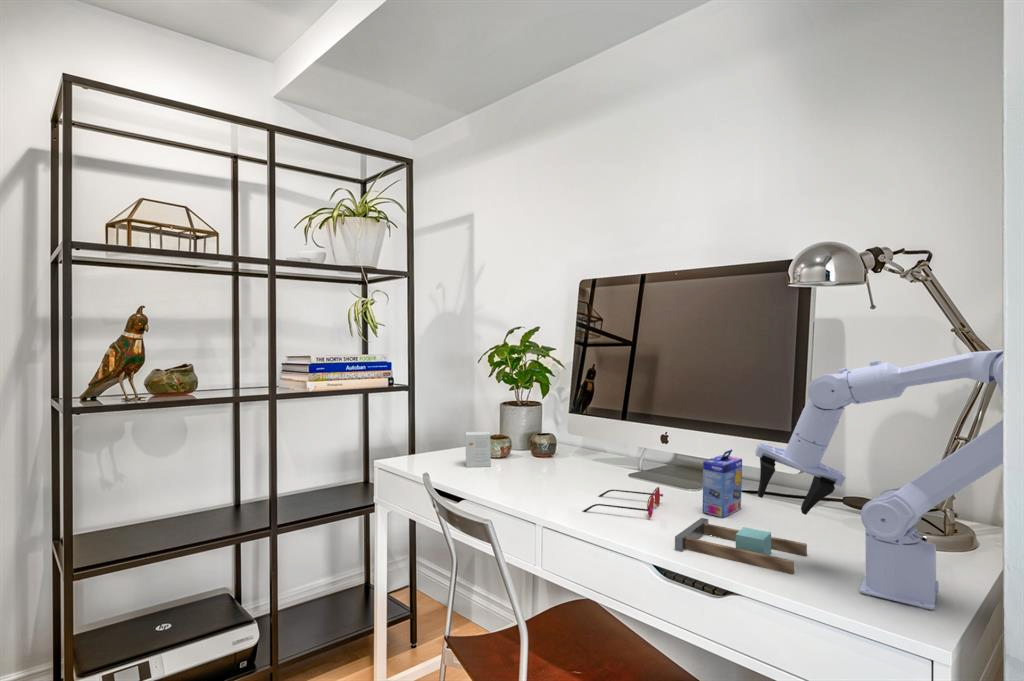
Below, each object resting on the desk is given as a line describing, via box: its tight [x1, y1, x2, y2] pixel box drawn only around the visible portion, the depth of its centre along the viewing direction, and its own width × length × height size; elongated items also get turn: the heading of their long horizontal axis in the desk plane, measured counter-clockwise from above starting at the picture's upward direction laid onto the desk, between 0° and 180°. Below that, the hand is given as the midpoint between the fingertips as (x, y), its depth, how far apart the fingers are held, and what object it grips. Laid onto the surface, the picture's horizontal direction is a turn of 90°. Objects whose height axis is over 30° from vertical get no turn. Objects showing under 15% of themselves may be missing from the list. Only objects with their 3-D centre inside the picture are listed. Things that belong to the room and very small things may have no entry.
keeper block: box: [735, 526, 772, 556], centre depth 106 cm, size 5×5×4 cm
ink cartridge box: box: [702, 449, 743, 519], centre depth 131 cm, size 10×6×14 cm, turn 135°
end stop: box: [674, 517, 709, 552], centre depth 113 cm, size 2×14×2 cm, turn 141°
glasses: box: [581, 486, 664, 518], centre depth 135 cm, size 14×16×5 cm
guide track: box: [685, 523, 808, 575], centre depth 107 cm, size 19×11×2 cm, turn 51°
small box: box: [464, 430, 492, 468], centre depth 181 cm, size 8×6×10 cm
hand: (781, 503), depth 102 cm, fingers open, 7 cm apart
